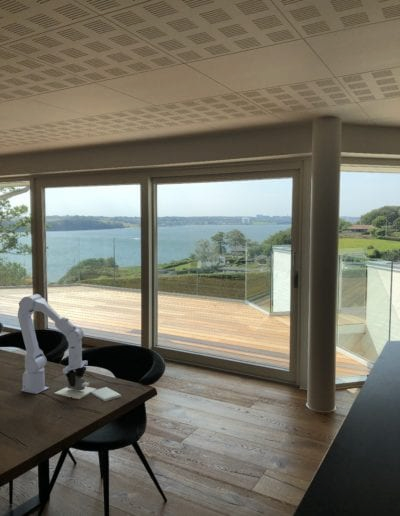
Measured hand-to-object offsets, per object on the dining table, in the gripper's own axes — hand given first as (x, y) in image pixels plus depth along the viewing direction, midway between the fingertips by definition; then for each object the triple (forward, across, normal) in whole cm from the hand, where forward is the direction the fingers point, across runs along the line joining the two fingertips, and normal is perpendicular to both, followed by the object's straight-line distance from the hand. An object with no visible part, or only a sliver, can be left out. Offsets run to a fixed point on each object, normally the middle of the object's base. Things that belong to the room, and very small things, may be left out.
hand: (75, 384), depth 195 cm
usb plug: (+2, 0, -1) cm, 2 cm away
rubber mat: (+3, 0, 0) cm, 3 cm away
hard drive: (+4, +3, -15) cm, 15 cm away
